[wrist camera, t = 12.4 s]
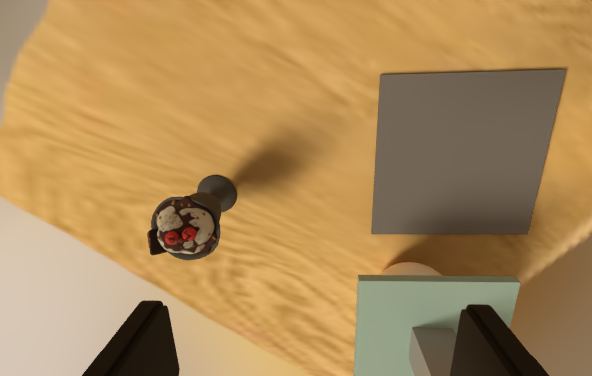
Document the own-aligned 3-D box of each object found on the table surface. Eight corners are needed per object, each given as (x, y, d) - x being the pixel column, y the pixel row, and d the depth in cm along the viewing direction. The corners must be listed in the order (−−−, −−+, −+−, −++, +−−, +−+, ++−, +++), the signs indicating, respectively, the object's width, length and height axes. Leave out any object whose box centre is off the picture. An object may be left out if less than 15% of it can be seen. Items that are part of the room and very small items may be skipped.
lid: (357, 274, 31) (372, 337, 23) (514, 276, 30) (581, 341, 22) (353, 385, 36) (363, 467, 28) (487, 389, 35) (535, 475, 27)
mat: (380, 74, 34) (380, 74, 33) (563, 69, 33) (566, 69, 32) (371, 232, 40) (371, 234, 39) (525, 232, 39) (527, 234, 38)
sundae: (247, 175, 38) (209, 229, 24) (237, 223, 40) (196, 299, 26) (195, 161, 38) (124, 208, 24) (187, 210, 40) (118, 280, 26)
